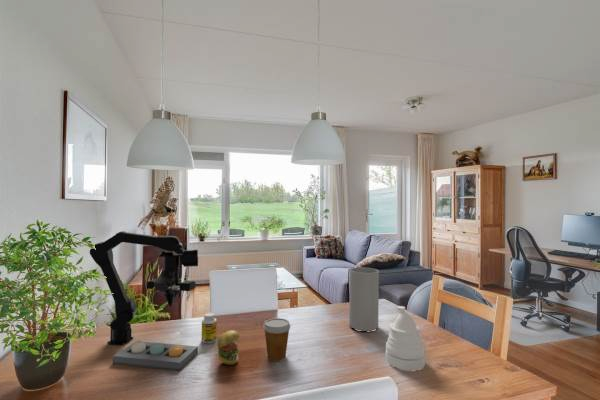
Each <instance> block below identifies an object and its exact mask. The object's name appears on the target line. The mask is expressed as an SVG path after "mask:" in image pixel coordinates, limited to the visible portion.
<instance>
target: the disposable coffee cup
mask: <svg viewBox="0 0 600 400" xmlns="http://www.w3.org/2000/svg"><path fill="white" fill-rule="evenodd" d="M262 326H263V330H264V337H265V344H266V346H265V347H266V356H267V359H268V361H269V360H270V361H272V362H280V360H281V361H283V360H285V359H286V356H287V349H288V348H287V347H288V342H289V341H288V340H289V334H290V329H291V326H292V325H291V323H290V321H289V320H287V319H286V318H280V317H275V318H270V319H267V320H265V322H264V324H263V325H262ZM284 358H285V359H284Z"/></svg>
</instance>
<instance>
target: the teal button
mask: <svg viewBox="0 0 600 400" xmlns="http://www.w3.org/2000/svg"><path fill="white" fill-rule="evenodd" d="M162 353H164V345H163V344H155V345H152V346H151V347H150V355H159V356H160V355H161V354H162Z"/></svg>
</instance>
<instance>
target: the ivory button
mask: <svg viewBox="0 0 600 400" xmlns="http://www.w3.org/2000/svg"><path fill="white" fill-rule="evenodd" d="M144 342H145V341H143V342H139V343H135V342H134V343H135V344H133V343H132V344H133V345H132V347H131V353H139V354H141V353H142V352H144V351H145V350H146V343H144Z"/></svg>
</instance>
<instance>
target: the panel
mask: <svg viewBox="0 0 600 400" xmlns="http://www.w3.org/2000/svg"><path fill="white" fill-rule="evenodd" d="M139 342H144V343H146V350H145V351H144V352H142V353H141V354H139V353H131V347H132V345H133V344H135V343H139ZM155 344H163V345H164V353H162V354H161V355H160V356H159V355H150V347H151V346H152V345H155ZM173 346H182V347H183V354H182V355H181V356H180V357H170V356H169V348H170V347H173ZM198 354H199V346H197V345H186V344H174V343H165V342H153V341H141V340H136V341H135V342H133V343H132V344H130V345H128V346H126V347H125V348H123V349H122V350H120V351H119V352H117V353H116V354H114V355H113V356H112V365H120V366H130V367H137V368H139V367H140V368H148V369H149V368H150V369H156V370H158V369H159V370H166V371H167V370H168V371H176V372H177V371H179V372H180V371H181V370H182V369H184V368H185V366H187V365H188V364H189V363H190V362H191V361H192V360H193V359H194V358H195V357H196V356H198Z"/></svg>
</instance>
